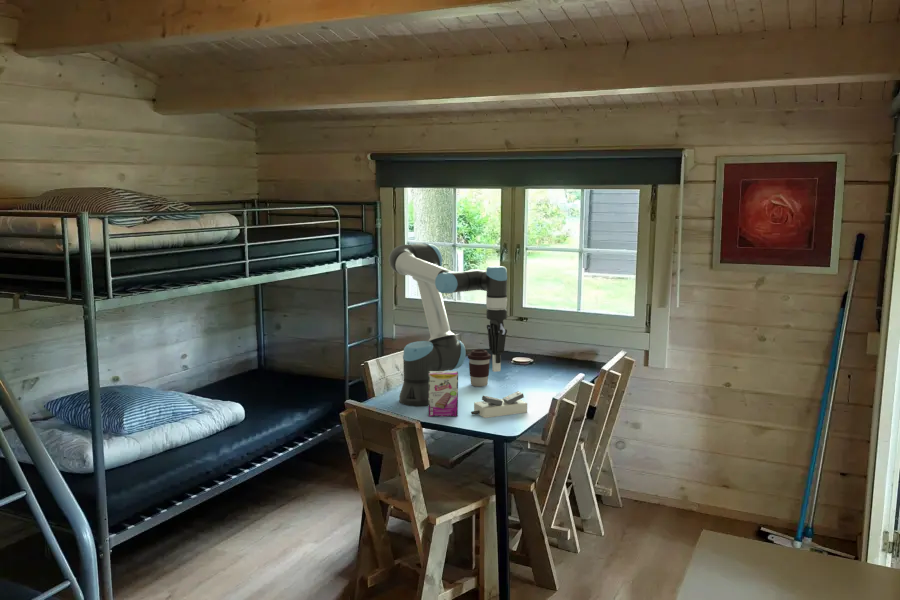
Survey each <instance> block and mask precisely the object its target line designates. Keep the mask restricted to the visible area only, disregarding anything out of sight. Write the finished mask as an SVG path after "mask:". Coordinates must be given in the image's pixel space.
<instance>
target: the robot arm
mask: <svg viewBox="0 0 900 600" xmlns="http://www.w3.org/2000/svg"><path fill="white" fill-rule="evenodd" d="M442 255H443V254H442V252H441V251H440V249H439V248H438V246H437V245H434V244H433V243H417V244H416V243H413V244H400V245H398V246H396V247H394V248H393V249H392V250H391V251H390V253H389V255H388V263H389V267H390V268H391V270H393V271H392V272H395V273H397V274H398V275H401V276H410V277H412V280H414V281H416V282H417V287H418V290H419V295H420V299H421V303H422V306H423V310H424V315H425V319H426V323H427V328H428V331H429V335H430V338H429V339H428V340H418V341H413V342H409V343H408V344H406V345H405V346H404V348H403V354H402V359H403V361H402V362H403V383H402V387H401V390H400V393H399V403H400V404H402V405H406V406H413V407H423V406H428V385H429V371H454V370H456V369H457V370H458V369H459V368H461V367H462V366H463V364H464V362H465V360H466V353H467V352H466V346H465V345H464V343H463V342H462V341H461V340H459V339H457V335H456V334H455V333H454V332H452V331H451V327H450V323H449V319H448V315H447V311H446V307H445V303H444V299H443V295H442V294H453V293H462V292H473V291H485V292H486V295H485V296H486V298H485V299H486V300H485V301H486V302H485V303H486V304H485V306H486V319H487V320H489V324H487V325H486V330H487V336H488V337H487V338H488V346H489V347H488V348H489V349H488V350H489V351H490V352H491V358H492V360H491V361H492V363H491V364H492V366H491V367H492V372H494V373H496V372H501V369H502V367H501V365H502V357H501V355H503V354H504V353H505V346H506V345H505V344H506V338H507V337H506V336H507V333H508V329H507V328H504V326H505V325H504V320H506V319H508V310H507V307H508V306H507V305H508V301H509V299H508V270H507V268H506V266H503V265H490V266H487V267H486V270H483V269H478V268H474V269H473V268H472V269H468V270H464V271H463V270H462V271H452V270H450V269H447V268H444V267H442V266H443V256H442Z"/></svg>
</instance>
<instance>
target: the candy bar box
mask: <svg viewBox="0 0 900 600" xmlns="http://www.w3.org/2000/svg"><path fill="white" fill-rule="evenodd" d="M427 408H428V409H427V411H428V412H427V413H428V415H427V416H428V417H458V414H459V372H458V371H456V370H447V371H429V385H428V405H427Z"/></svg>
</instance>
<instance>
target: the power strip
mask: <svg viewBox="0 0 900 600" xmlns="http://www.w3.org/2000/svg"><path fill="white" fill-rule="evenodd" d="M499 399H500V400H502V401H503V402H502V405H498V404H493V403H488V402H485V401H483V400H482V401H475V402H474V403H473V410H472V411H471V412H470V413H471V415H472V416H473V415H479V416H481V418H484V419H486V418H496V417H503V416H509V415H515V414H523V413H524V414H526V413H528V402H525V401H523V400H522V399H519V400H517V401H515V402H513V403H511V404H507V403H505V402H504V400H503V398H499Z"/></svg>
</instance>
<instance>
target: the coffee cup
mask: <svg viewBox="0 0 900 600" xmlns="http://www.w3.org/2000/svg"><path fill="white" fill-rule="evenodd" d="M491 358H492V353H489V352H488V350H486V349H483V348H482V349H479V348H478V349H472V350H471V351H470V353H468V354H467V359H469V360H468V361H469V362H468V368H469V369H468V370H469V378H470V379H469V380H470V385H471V386H473V387H480V388H481V387H486V386H488V384H489V381H488V380H489V375H490V359H491Z"/></svg>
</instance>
